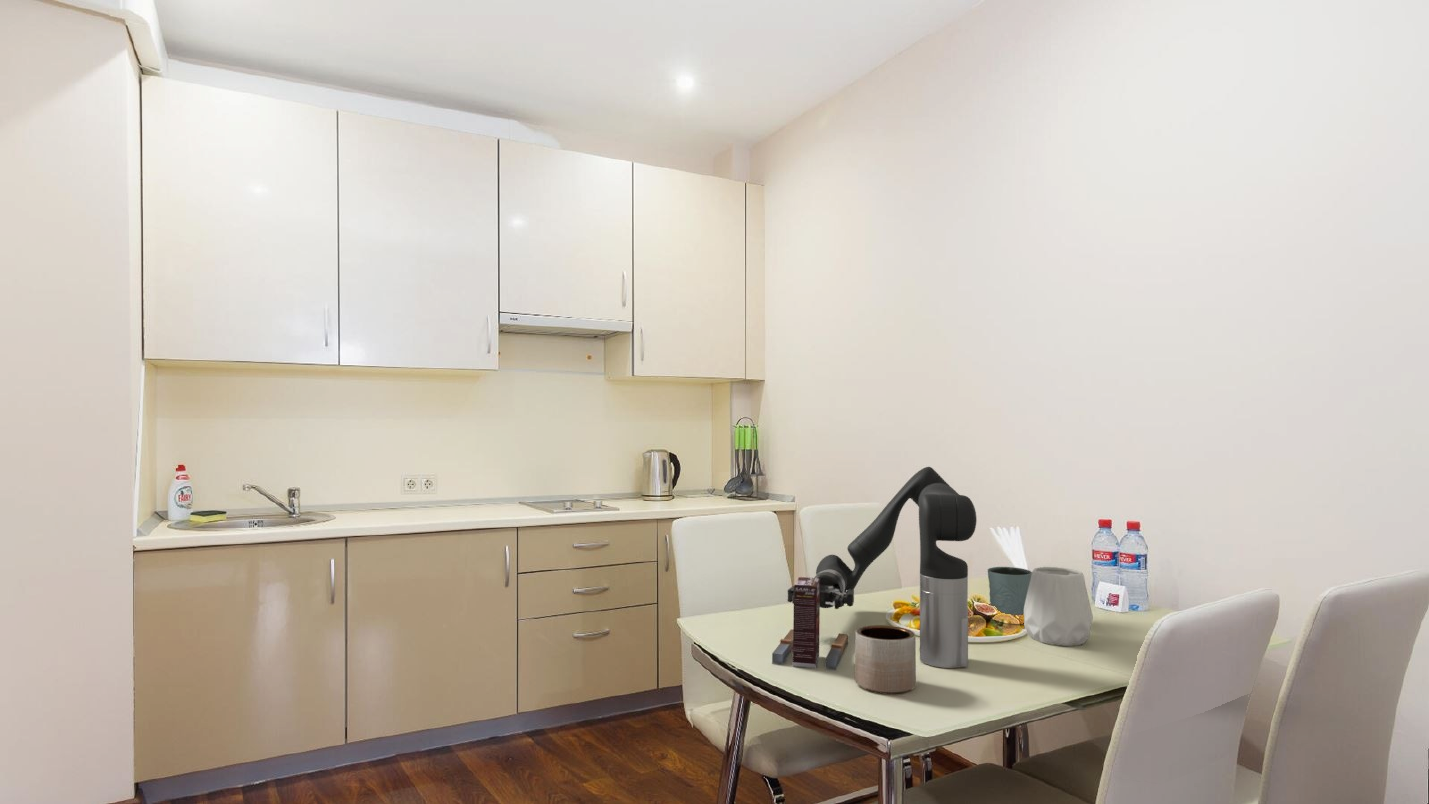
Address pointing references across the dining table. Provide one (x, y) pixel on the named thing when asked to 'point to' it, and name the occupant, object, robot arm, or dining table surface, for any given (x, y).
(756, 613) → the dining table surface
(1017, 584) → the teal embossed flower pot
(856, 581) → the robot arm
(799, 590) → the supplement box
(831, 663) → the pair of brown-grey bars
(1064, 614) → the vase
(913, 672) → the planter
